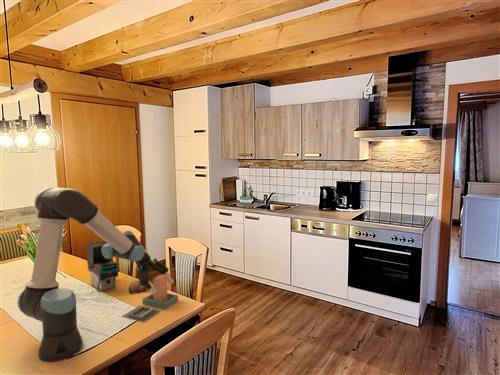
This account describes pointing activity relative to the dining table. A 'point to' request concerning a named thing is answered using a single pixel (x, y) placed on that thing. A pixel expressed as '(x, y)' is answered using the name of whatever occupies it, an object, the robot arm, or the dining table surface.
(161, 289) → the salmon pink block
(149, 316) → the gray recessed plate
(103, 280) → the bill acceptor
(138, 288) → the bread roll
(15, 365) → the dining table surface
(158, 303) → the tray
